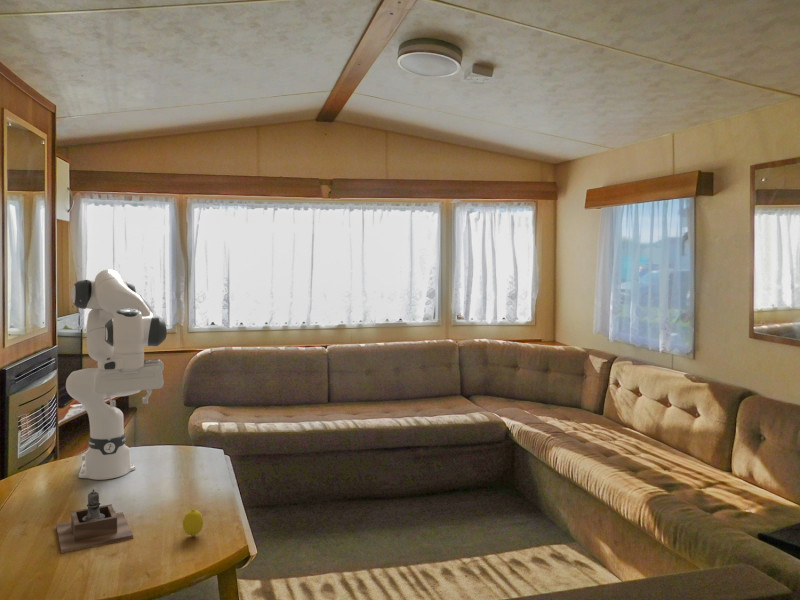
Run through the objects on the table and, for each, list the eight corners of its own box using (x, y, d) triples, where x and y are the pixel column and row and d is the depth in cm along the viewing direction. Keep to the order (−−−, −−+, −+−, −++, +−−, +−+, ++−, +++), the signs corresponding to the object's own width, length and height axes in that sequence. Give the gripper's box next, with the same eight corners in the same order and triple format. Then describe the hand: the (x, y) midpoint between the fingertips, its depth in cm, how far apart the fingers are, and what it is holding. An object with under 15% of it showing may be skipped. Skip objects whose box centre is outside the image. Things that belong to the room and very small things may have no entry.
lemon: (185, 532, 183) (185, 505, 183) (205, 532, 184) (205, 505, 183) (180, 541, 178) (180, 513, 177) (200, 540, 178) (200, 513, 178)
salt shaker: (95, 535, 178) (95, 493, 177) (77, 532, 179) (77, 491, 178) (109, 526, 184) (109, 486, 183) (92, 524, 185) (91, 484, 184)
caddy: (56, 527, 184) (56, 509, 184) (122, 515, 194) (122, 497, 194) (61, 553, 169) (60, 533, 169) (132, 538, 179) (132, 519, 178)
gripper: (161, 357, 204) (161, 399, 205) (91, 361, 193) (92, 406, 194) (166, 360, 199) (166, 403, 200) (94, 365, 188) (95, 410, 189)
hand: (129, 404), depth 197 cm, fingers open, 8 cm apart
